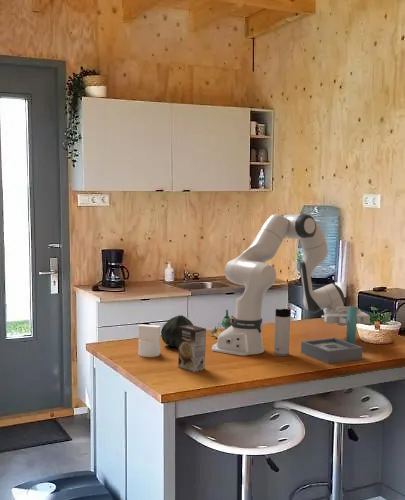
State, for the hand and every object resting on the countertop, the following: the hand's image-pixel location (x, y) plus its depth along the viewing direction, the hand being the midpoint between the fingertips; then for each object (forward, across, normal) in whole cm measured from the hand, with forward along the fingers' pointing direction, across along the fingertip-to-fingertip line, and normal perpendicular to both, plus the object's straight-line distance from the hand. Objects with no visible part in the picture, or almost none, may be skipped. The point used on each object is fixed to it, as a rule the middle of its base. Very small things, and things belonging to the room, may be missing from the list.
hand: (352, 321), depth 278 cm
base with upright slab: (+3, -88, +14) cm, 90 cm away
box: (+10, -12, +13) cm, 20 cm away
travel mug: (+6, -33, +13) cm, 36 cm away
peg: (-1, 0, +10) cm, 10 cm away
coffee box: (+24, -73, +14) cm, 78 cm away
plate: (+10, -12, +13) cm, 20 cm away
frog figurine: (-23, -52, +13) cm, 59 cm away
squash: (-10, -75, +14) cm, 77 cm away
